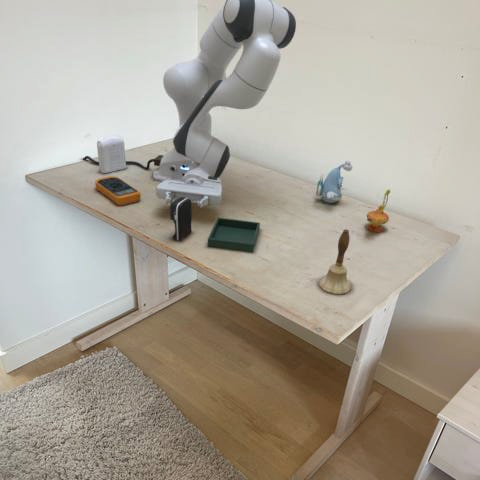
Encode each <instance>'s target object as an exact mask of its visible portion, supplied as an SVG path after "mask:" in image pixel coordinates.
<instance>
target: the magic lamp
mask: <svg viewBox="0 0 480 480" xmlns="http://www.w3.org/2000/svg"><path fill="white" fill-rule="evenodd" d="M390 194H391V189H390V188H388V189H386V192H385V193H384V196H383V201H382V204H381V205H379V206H378V208H377V209H376V210H372V211H368V212H367V214H366V221H367V222H368V223H369V224H368V225H367V226H366V228H367V229H368V230H369V231H372V232H378V233H380V232H383V231H384V228H383V226H381V225H385V224H386V223H387V222H389V220H390V217H389V215H388V214H387V213H386V212H384V210H385V208H386V206H387V203H388V200H389V195H390Z"/></svg>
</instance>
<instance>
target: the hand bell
mask: <svg viewBox="0 0 480 480" xmlns="http://www.w3.org/2000/svg"><path fill="white" fill-rule="evenodd" d="M349 245H350V230H349V229H343V231H342V233H341V235H340V237H339V238H338V242H337V251H338V253H337V257H336V261H335V263H333V264H331V265H330V266H329V268H328V271H327V273H326V275H325V276H323V277H322V278H321V279H320V280H319V281H318V284H319V288H320V289H322V290H323V291H324V292H326V293H329V294H333V295H344V294H347V293H349V292H350V291H351V289H352V285H351V283H350V281H348V277H347V275H348V274H347V271H348V270H347V267H346V266H344V265H343V263H344V258H345V254H346V252H347V250H348V248H349Z"/></svg>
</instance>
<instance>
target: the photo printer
mask: <svg viewBox="0 0 480 480" xmlns="http://www.w3.org/2000/svg"><path fill="white" fill-rule="evenodd" d="M124 140H125V139H124V137H123V136H120V135H107V136H104V137H101V138H100V139H98V140H97V142H96V148H97V149H96V150H97V158H98V162H99V164H98V167H99V172H100V173H101V174H108V173H112V172H117V171H122V170H125V169H126V168H127V164H126V161H127V160H126V148H125V147H126V146H125V141H124Z"/></svg>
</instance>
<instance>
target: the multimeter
mask: <svg viewBox="0 0 480 480" xmlns="http://www.w3.org/2000/svg"><path fill="white" fill-rule="evenodd" d="M94 184H95V189H96V190H98V191H99V192H100V193H102V194H103V195H105V196H106V197H108V198H109V199H111V200H112V201H113V202H114V203H115V204H116V205H118V206H126V205H130V204H133V203H136V202H139V201H140V200H141V198H142V197H141V196H142V195H141V191H139V190H137V189H136V188H134V187H133V186H132V185H130V184H129V183H127V182H125V181H124V180H123V179H122V178H120V177H118V176H116V175H115V176H113V175H108V176H105V177H100V178H97V179H96V180H94Z"/></svg>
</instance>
